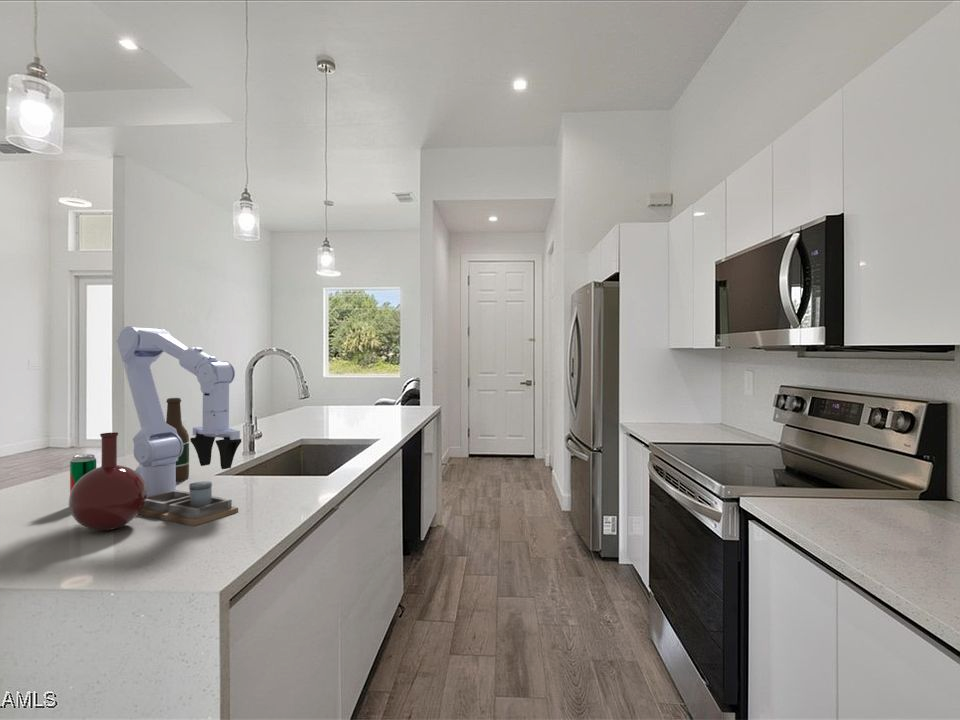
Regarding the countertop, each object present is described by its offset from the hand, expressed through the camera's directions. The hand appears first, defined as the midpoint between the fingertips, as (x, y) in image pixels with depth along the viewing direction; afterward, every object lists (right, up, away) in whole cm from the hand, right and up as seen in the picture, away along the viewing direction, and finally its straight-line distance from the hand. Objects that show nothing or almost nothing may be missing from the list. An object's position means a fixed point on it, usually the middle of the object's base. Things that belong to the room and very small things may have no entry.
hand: (215, 466), depth 123 cm
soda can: (-32, -9, -1) cm, 33 cm away
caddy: (-4, -9, -6) cm, 12 cm away
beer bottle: (-25, -9, +25) cm, 37 cm away
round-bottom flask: (-13, -10, -17) cm, 24 cm away
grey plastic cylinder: (+1, -8, -8) cm, 11 cm away
